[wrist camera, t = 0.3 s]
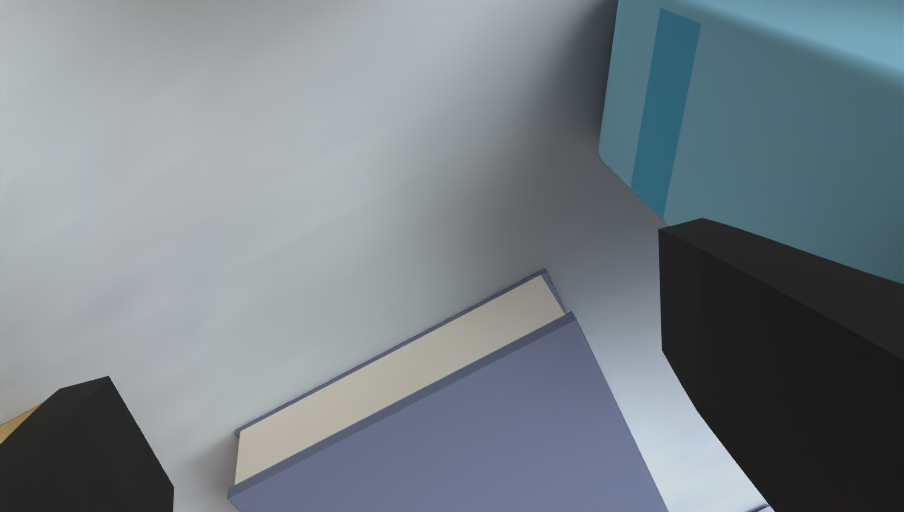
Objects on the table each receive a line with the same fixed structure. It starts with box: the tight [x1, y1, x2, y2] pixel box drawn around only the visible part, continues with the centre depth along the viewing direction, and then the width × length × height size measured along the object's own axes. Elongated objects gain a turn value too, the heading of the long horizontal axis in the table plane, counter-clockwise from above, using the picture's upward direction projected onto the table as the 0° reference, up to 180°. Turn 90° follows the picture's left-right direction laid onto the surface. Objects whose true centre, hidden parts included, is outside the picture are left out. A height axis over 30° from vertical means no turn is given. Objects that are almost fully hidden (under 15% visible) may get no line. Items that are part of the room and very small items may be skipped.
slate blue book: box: [227, 269, 668, 512], centre depth 24 cm, size 14×11×3 cm
